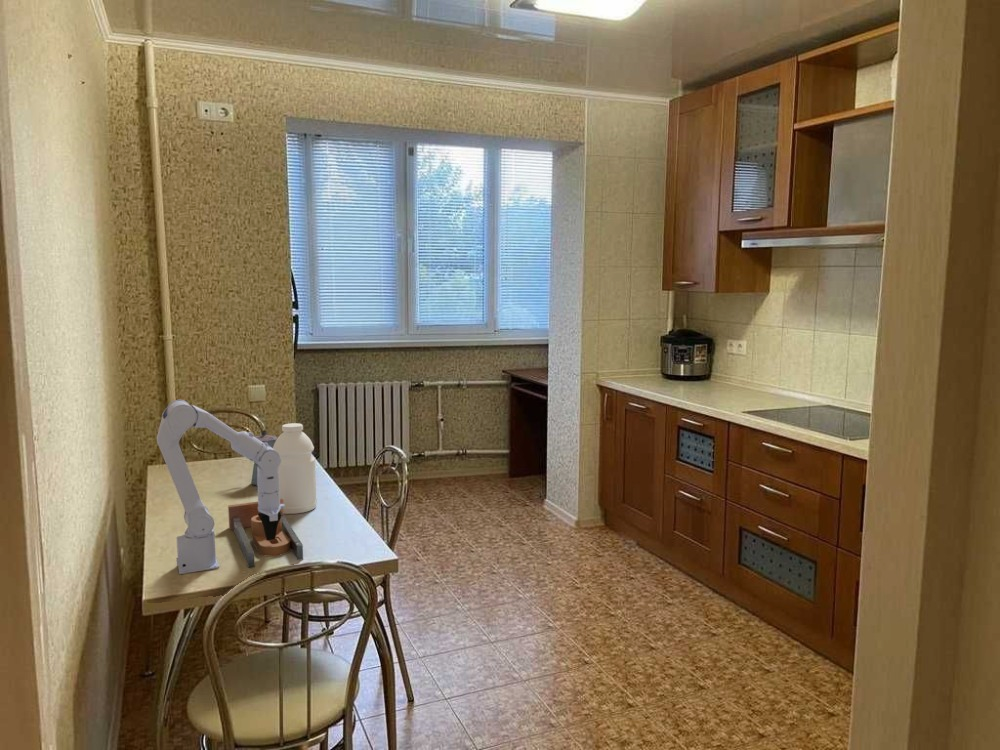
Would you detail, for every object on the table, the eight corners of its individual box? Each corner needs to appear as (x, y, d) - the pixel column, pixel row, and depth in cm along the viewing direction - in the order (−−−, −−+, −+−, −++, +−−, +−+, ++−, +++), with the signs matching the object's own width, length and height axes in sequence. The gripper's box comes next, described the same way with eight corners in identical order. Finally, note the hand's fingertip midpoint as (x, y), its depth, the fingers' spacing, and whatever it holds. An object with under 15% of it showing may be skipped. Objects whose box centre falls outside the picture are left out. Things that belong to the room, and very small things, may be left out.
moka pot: (276, 487, 267) (274, 433, 265) (237, 486, 270) (234, 432, 267) (288, 480, 276) (285, 428, 274) (249, 479, 279) (247, 427, 276)
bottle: (321, 501, 250) (318, 420, 247) (312, 514, 237) (309, 428, 233) (279, 502, 250) (276, 421, 246) (268, 514, 236) (264, 429, 233)
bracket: (249, 538, 215) (248, 516, 214) (278, 534, 219) (277, 511, 218) (263, 558, 199) (262, 534, 198) (293, 553, 203) (293, 529, 202)
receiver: (244, 568, 192) (243, 542, 191) (228, 527, 224) (227, 505, 223) (306, 558, 199) (305, 533, 198) (282, 520, 231) (282, 498, 230)
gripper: (288, 495, 195) (290, 545, 197) (279, 482, 208) (280, 528, 210) (261, 499, 192) (263, 549, 194) (253, 485, 205) (255, 532, 207)
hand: (270, 539), depth 202 cm, fingers closed
